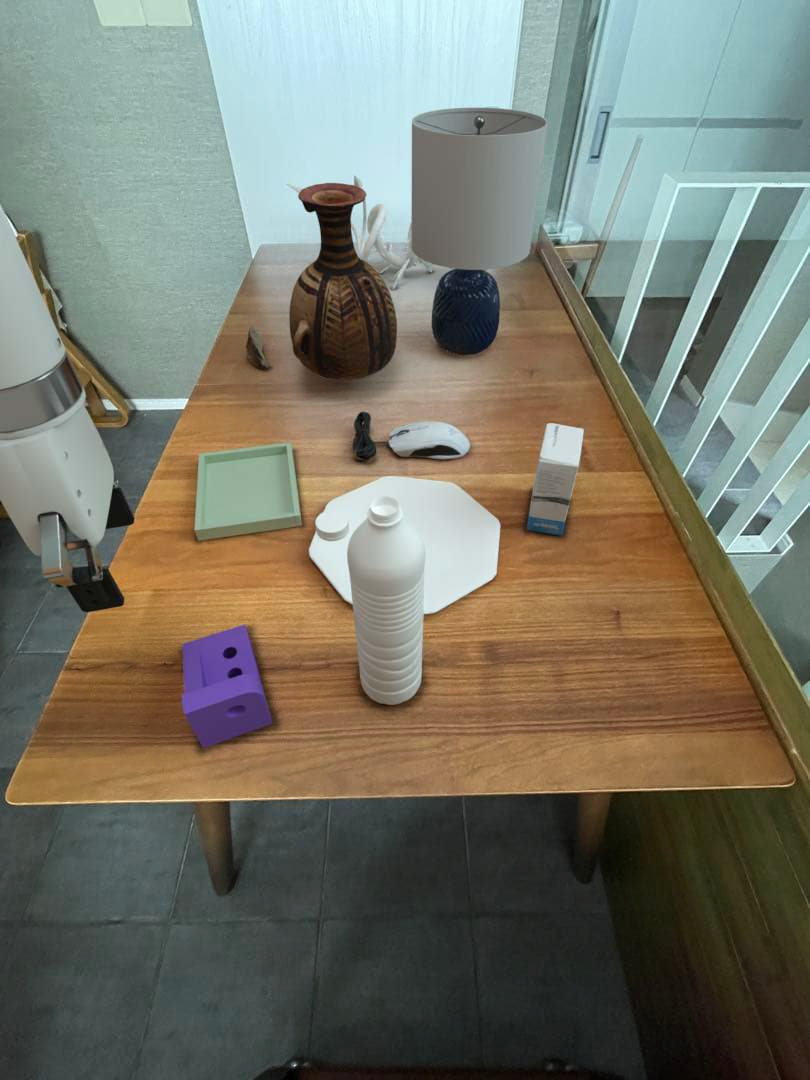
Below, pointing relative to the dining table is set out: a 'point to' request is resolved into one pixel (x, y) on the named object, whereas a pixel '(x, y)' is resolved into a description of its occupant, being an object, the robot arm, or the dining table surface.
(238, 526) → the shallow tray
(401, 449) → the computer mouse
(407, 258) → the white dragon statue
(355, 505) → the plate
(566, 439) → the ink box
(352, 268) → the vase
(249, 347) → the oyster shell
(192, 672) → the bracket
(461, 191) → the lamp
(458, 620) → the dining table surface
